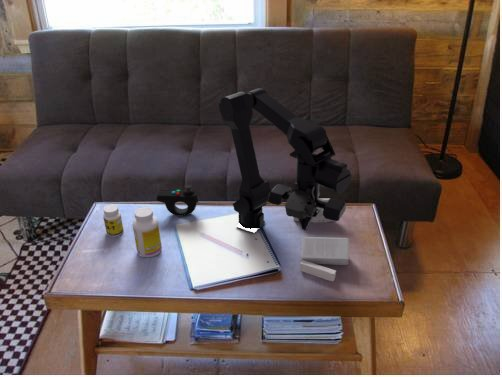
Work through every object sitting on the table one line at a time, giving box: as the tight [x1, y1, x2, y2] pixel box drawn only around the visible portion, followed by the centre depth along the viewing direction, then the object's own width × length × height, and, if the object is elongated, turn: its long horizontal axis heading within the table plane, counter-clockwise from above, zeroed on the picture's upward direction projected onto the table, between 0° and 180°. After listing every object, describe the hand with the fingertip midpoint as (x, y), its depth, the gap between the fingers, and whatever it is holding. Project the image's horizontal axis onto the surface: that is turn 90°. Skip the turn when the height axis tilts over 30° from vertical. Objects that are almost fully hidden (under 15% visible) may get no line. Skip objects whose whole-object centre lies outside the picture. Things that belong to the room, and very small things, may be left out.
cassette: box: [292, 197, 334, 223], centre depth 137 cm, size 12×2×8 cm, turn 89°
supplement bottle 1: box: [102, 204, 124, 238], centre depth 132 cm, size 5×5×8 cm
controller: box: [156, 184, 199, 217], centre depth 139 cm, size 4×12×10 cm, turn 90°
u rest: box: [299, 259, 337, 282], centre depth 122 cm, size 9×11×2 cm
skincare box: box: [300, 236, 350, 266], centre depth 121 cm, size 6×4×12 cm
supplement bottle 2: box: [132, 206, 162, 258], centre depth 124 cm, size 7×7×13 cm
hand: (304, 229), depth 120 cm, fingers closed
